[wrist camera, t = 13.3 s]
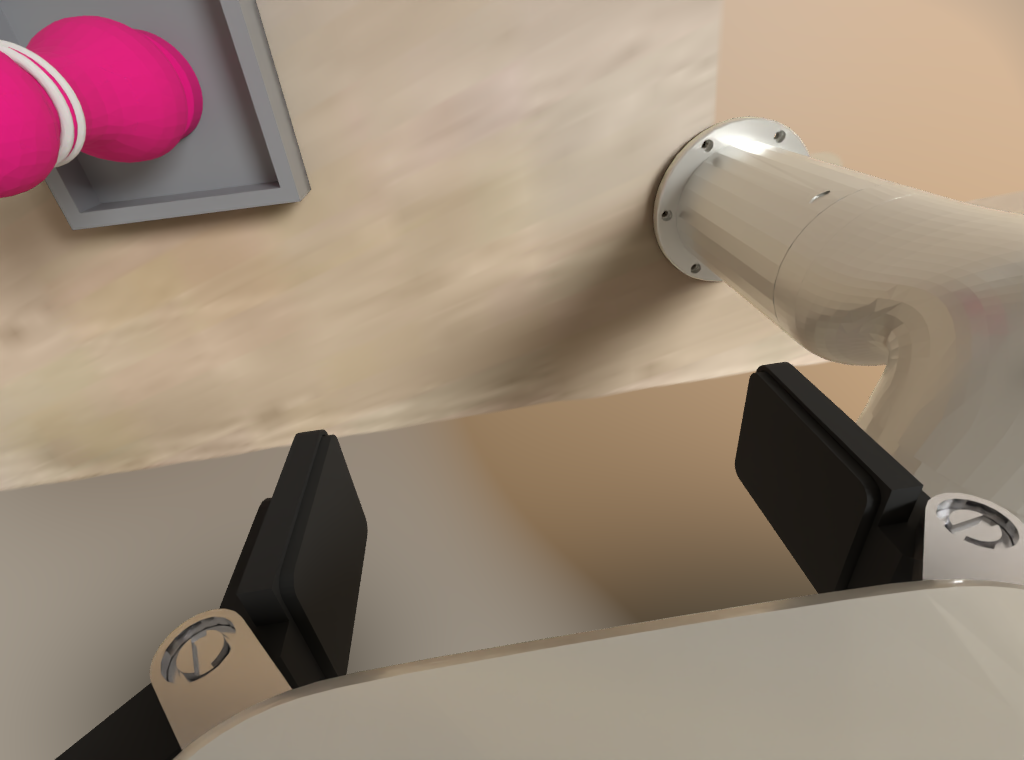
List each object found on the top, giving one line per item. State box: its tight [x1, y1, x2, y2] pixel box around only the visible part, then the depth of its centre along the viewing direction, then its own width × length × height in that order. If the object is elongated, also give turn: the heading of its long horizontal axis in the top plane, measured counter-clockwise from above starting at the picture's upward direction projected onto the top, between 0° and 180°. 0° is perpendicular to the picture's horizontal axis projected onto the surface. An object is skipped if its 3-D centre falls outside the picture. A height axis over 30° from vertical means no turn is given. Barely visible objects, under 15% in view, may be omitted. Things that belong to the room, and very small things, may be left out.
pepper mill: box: [0, 16, 203, 198], centre depth 25 cm, size 7×7×20 cm
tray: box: [0, 0, 311, 230], centre depth 33 cm, size 15×15×4 cm
